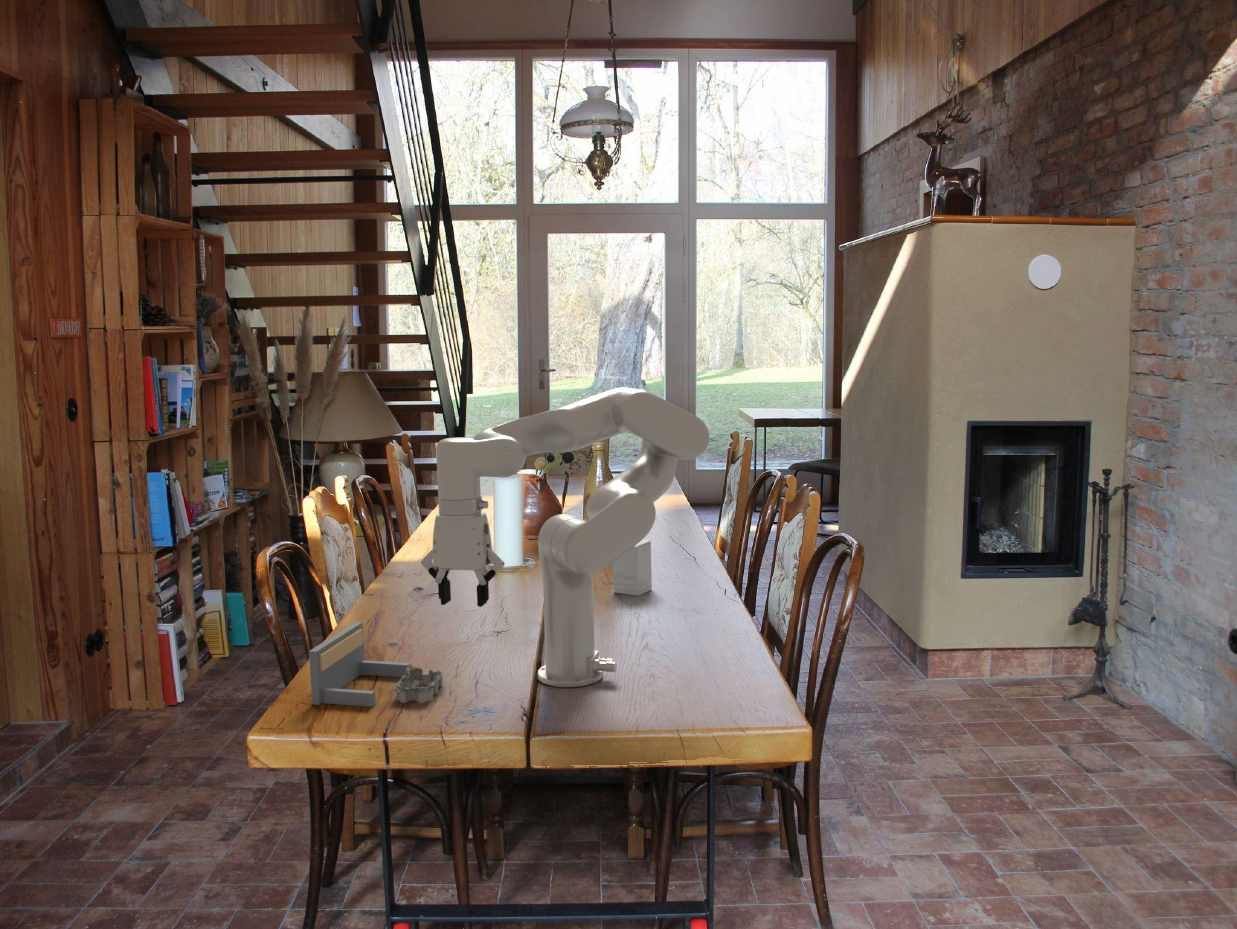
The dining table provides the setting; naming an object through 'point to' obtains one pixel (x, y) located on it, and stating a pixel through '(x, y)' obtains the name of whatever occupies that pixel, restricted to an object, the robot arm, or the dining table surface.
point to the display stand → (346, 669)
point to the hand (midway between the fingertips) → (464, 603)
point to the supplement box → (633, 570)
